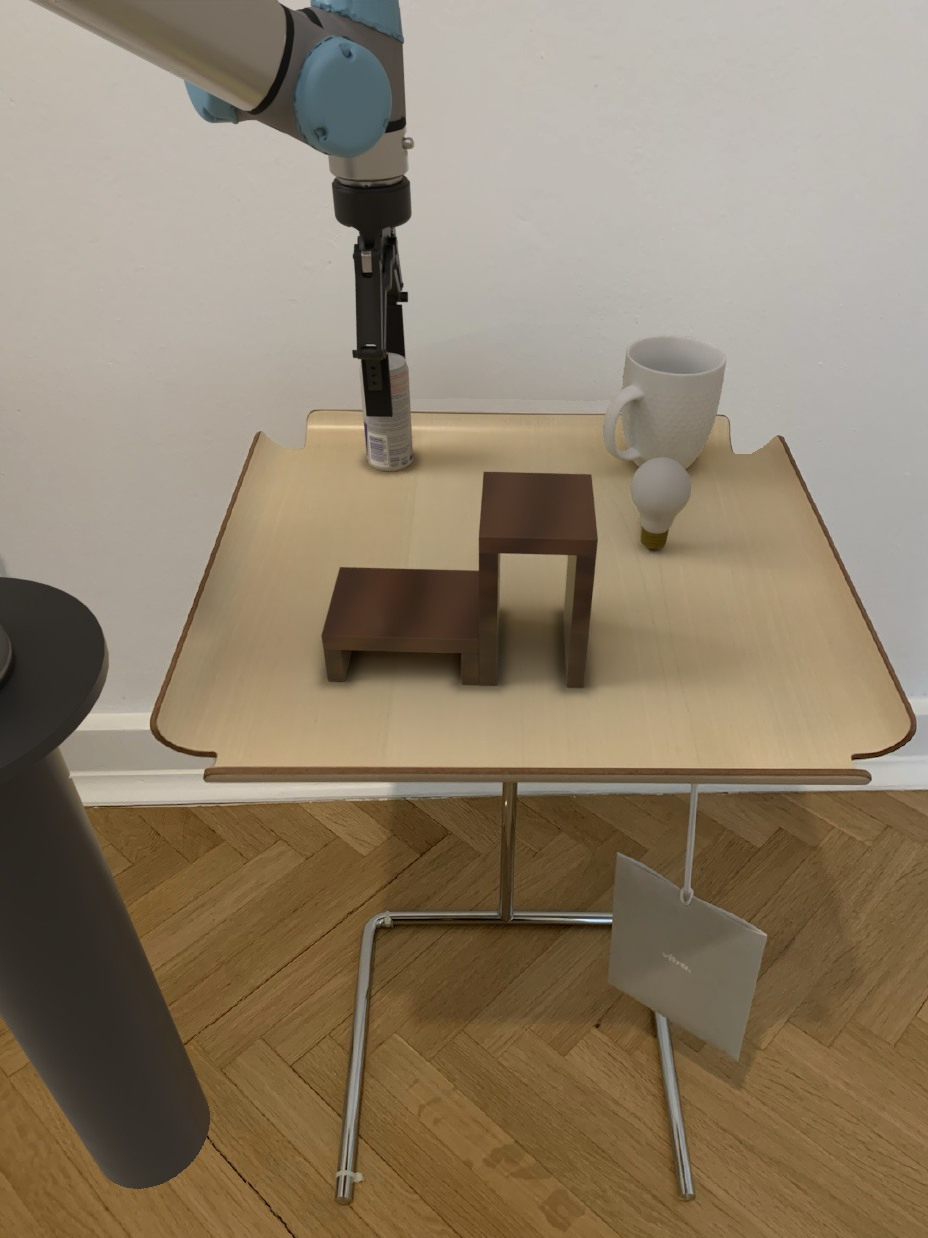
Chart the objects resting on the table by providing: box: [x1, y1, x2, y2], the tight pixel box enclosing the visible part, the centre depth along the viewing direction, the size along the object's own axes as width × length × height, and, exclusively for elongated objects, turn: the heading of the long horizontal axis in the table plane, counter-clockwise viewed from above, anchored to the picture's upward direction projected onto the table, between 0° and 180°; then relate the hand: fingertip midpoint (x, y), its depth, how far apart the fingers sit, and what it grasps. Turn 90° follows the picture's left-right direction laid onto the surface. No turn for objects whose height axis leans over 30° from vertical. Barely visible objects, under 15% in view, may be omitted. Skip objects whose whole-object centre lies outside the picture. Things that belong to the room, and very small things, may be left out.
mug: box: [602, 334, 727, 470], centre depth 106 cm, size 15×11×13 cm
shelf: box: [320, 471, 599, 689], centre depth 80 cm, size 22×10×15 cm, turn 89°
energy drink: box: [358, 353, 414, 472], centre depth 106 cm, size 5×5×12 cm
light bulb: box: [630, 457, 692, 551], centre depth 94 cm, size 6×6×10 cm
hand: (387, 387), depth 104 cm, fingers open, 13 cm apart
